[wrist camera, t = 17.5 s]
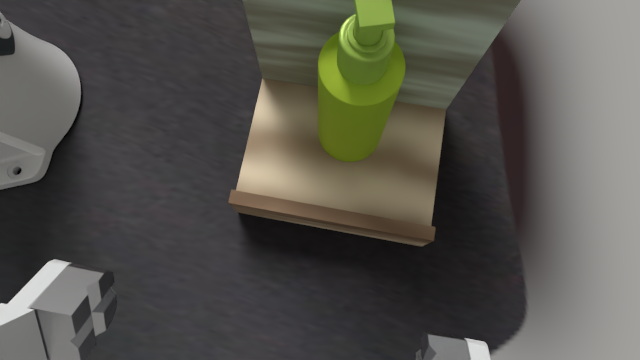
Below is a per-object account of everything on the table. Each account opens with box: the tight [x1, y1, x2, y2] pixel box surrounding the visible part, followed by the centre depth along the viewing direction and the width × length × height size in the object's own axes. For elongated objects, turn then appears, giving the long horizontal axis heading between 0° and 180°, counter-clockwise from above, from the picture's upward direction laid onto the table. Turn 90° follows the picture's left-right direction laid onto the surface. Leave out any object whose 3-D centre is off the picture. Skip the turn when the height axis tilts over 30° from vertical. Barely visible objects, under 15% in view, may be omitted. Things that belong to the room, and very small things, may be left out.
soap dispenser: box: [318, 0, 405, 162], centre depth 34 cm, size 6×7×20 cm
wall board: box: [228, 0, 520, 247], centre depth 35 cm, size 15×18×22 cm
